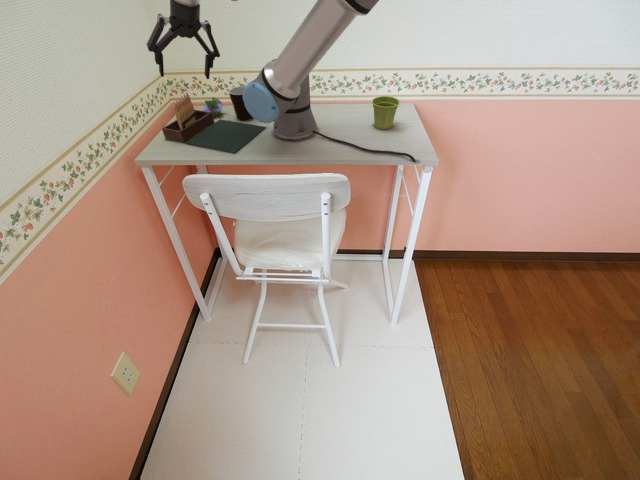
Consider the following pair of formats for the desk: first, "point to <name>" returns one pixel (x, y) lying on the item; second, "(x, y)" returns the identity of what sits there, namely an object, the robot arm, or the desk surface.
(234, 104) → the coffee mug
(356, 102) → the desk surface
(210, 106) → the geometric puzzle
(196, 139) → the desk mat
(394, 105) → the plant pot
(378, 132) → the desk surface
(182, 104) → the ammunition clip
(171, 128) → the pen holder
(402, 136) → the desk surface
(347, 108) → the desk surface
